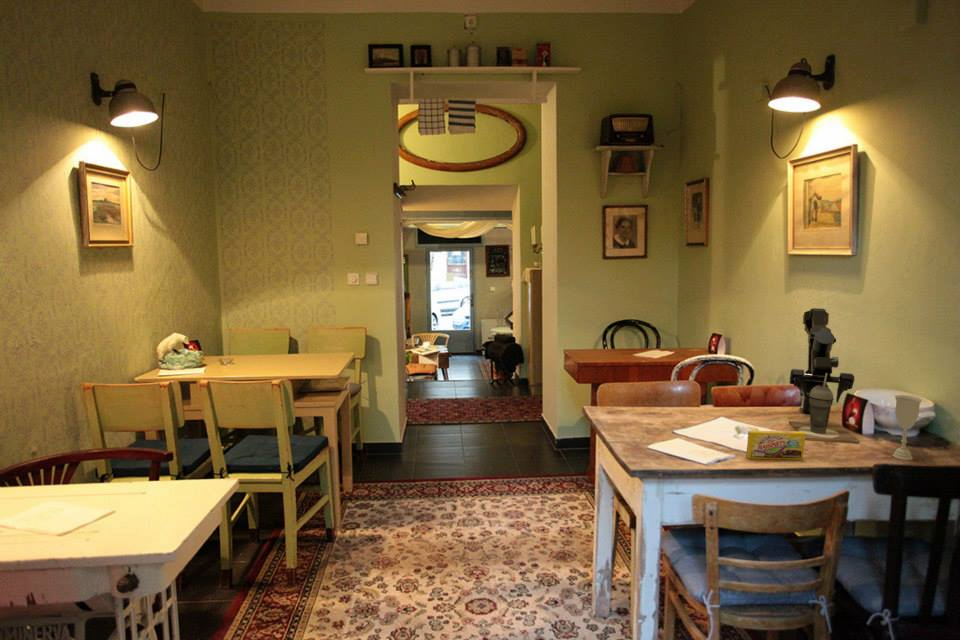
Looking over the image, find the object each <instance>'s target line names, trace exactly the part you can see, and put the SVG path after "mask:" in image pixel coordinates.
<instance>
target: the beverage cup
mask: <svg viewBox="0 0 960 640" xmlns="http://www.w3.org/2000/svg"><path fill="white" fill-rule="evenodd" d="M826 378H827V373H826V374H825V379H824V384H823V385H818V386H815V387H814V388H813V389H812V390H811V391H810V394H809V402H810V414H809V422H810V431H811V432H813V433H818V434H825V433H826V429H827V425H828V423H829V419H830V413H831V408H832V405H833V402H834V393H833V391H832V389H830V388H829V386H828V387H826V386H825V383H826Z"/></svg>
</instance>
